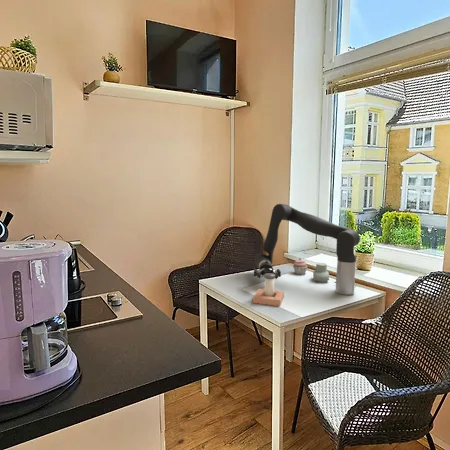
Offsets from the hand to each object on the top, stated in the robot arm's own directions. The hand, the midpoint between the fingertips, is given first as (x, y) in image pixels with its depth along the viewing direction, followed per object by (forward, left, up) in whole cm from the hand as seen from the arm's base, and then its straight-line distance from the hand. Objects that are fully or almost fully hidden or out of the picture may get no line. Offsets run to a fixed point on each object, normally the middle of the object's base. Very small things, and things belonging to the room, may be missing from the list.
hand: (268, 276), depth 190 cm
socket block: (-2, +9, -9) cm, 13 cm away
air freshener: (-25, -31, -9) cm, 41 cm away
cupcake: (-12, -41, -9) cm, 44 cm away
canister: (-2, +9, -9) cm, 13 cm away
